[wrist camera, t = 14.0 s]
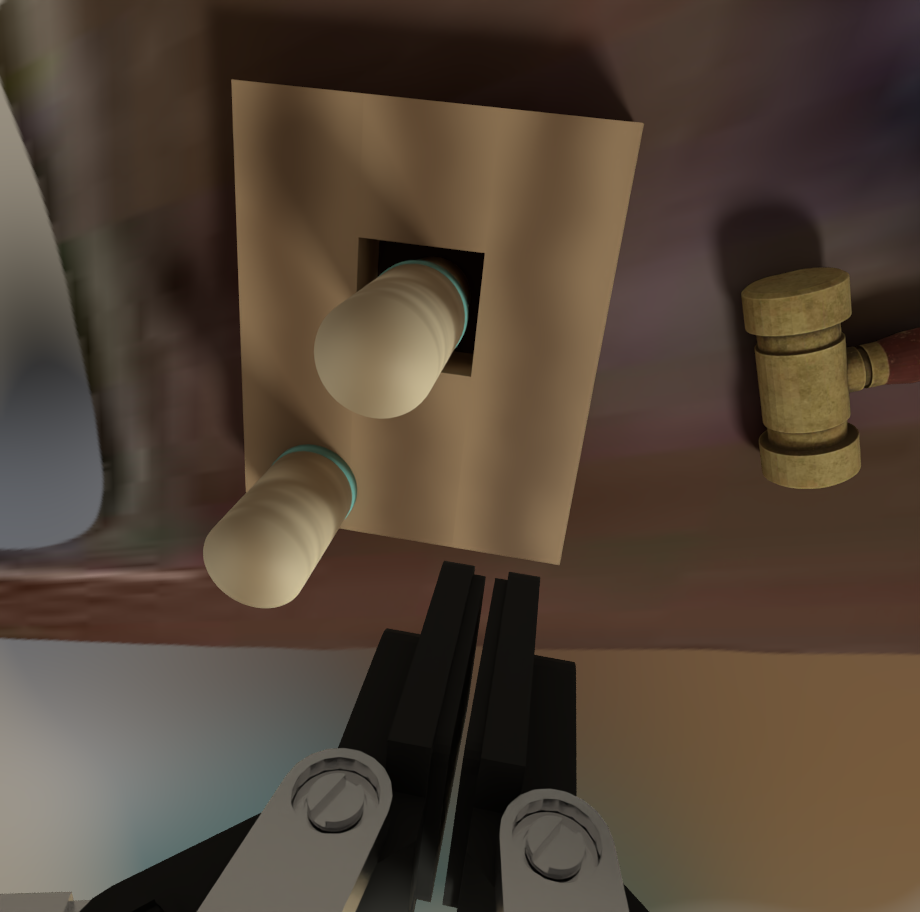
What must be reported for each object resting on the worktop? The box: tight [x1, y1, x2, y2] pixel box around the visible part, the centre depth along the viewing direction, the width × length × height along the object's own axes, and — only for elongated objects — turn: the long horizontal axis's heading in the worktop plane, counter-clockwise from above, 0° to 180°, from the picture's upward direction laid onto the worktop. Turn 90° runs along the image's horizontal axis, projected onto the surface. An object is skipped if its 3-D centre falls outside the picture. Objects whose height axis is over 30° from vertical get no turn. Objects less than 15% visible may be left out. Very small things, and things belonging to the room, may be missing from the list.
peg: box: [314, 256, 471, 419], centre depth 32 cm, size 5×5×12 cm
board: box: [203, 79, 644, 608], centre depth 32 cm, size 18×22×12 cm
